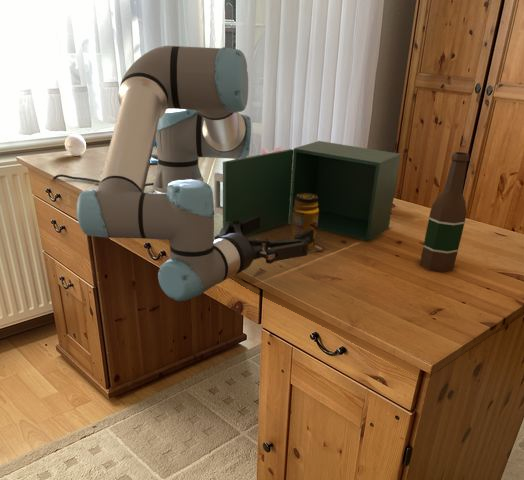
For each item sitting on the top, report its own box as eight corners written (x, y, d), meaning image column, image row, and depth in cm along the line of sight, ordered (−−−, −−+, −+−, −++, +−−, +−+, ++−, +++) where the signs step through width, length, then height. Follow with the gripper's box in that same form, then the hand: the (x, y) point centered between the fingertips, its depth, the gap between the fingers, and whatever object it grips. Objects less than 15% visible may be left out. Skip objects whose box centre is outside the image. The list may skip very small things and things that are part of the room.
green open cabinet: (368, 241, 132) (379, 162, 122) (288, 222, 142) (293, 148, 132) (388, 228, 141) (400, 153, 131) (312, 210, 151) (318, 140, 142)
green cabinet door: (207, 236, 130) (206, 157, 121) (271, 217, 144) (274, 145, 135) (225, 243, 127) (225, 162, 117) (288, 223, 141) (293, 149, 131)
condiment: (323, 249, 126) (328, 198, 120) (293, 255, 122) (297, 202, 116) (304, 239, 131) (308, 189, 125) (275, 245, 127) (278, 194, 121)
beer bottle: (413, 259, 123) (435, 148, 110) (446, 259, 124) (472, 149, 111) (425, 272, 116) (449, 157, 104) (460, 272, 117) (488, 158, 105)
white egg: (63, 154, 198) (59, 133, 194) (83, 152, 202) (80, 131, 198) (72, 160, 191) (69, 138, 187) (93, 158, 195) (90, 136, 191)
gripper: (176, 259, 110) (237, 232, 125) (280, 292, 99) (333, 258, 114) (175, 224, 106) (238, 200, 122) (283, 253, 95) (337, 223, 110)
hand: (284, 228), depth 118 cm, fingers open, 13 cm apart
